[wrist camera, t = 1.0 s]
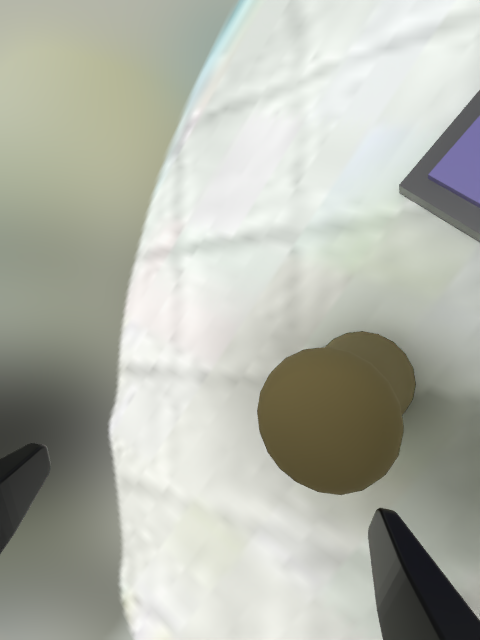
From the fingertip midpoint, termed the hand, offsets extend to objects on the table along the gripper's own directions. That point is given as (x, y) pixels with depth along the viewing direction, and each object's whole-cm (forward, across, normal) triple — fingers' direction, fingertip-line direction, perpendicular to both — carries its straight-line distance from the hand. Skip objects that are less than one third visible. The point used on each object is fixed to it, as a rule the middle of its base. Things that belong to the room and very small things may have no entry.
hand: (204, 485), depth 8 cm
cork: (+12, -8, +3) cm, 15 cm away
